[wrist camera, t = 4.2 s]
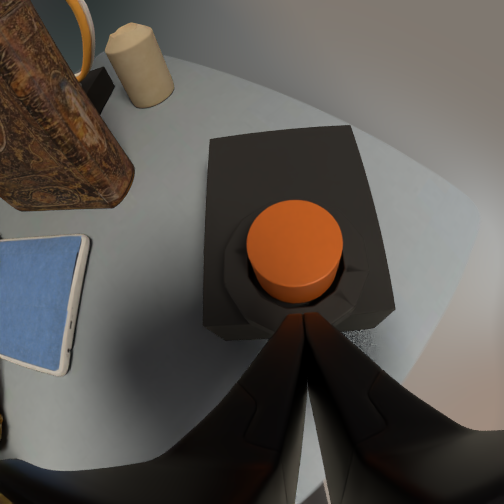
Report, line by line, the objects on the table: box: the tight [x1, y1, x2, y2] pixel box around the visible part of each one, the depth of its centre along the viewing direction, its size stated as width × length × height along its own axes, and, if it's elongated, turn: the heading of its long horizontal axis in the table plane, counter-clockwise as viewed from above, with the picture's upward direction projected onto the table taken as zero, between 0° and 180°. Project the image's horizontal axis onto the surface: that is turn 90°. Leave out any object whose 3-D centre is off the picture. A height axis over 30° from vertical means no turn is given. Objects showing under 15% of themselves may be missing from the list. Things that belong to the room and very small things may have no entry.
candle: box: [105, 23, 174, 108], centre depth 29 cm, size 6×6×10 cm
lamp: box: [66, 0, 115, 114], centre depth 21 cm, size 17×9×32 cm, turn 87°
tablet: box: [0, 234, 90, 377], centre depth 24 cm, size 19×13×1 cm, turn 88°
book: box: [0, 0, 135, 211], centre depth 18 cm, size 16×6×25 cm, turn 83°
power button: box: [246, 200, 343, 303], centre depth 14 cm, size 4×4×2 cm
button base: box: [203, 125, 395, 341], centre depth 20 cm, size 14×10×7 cm
